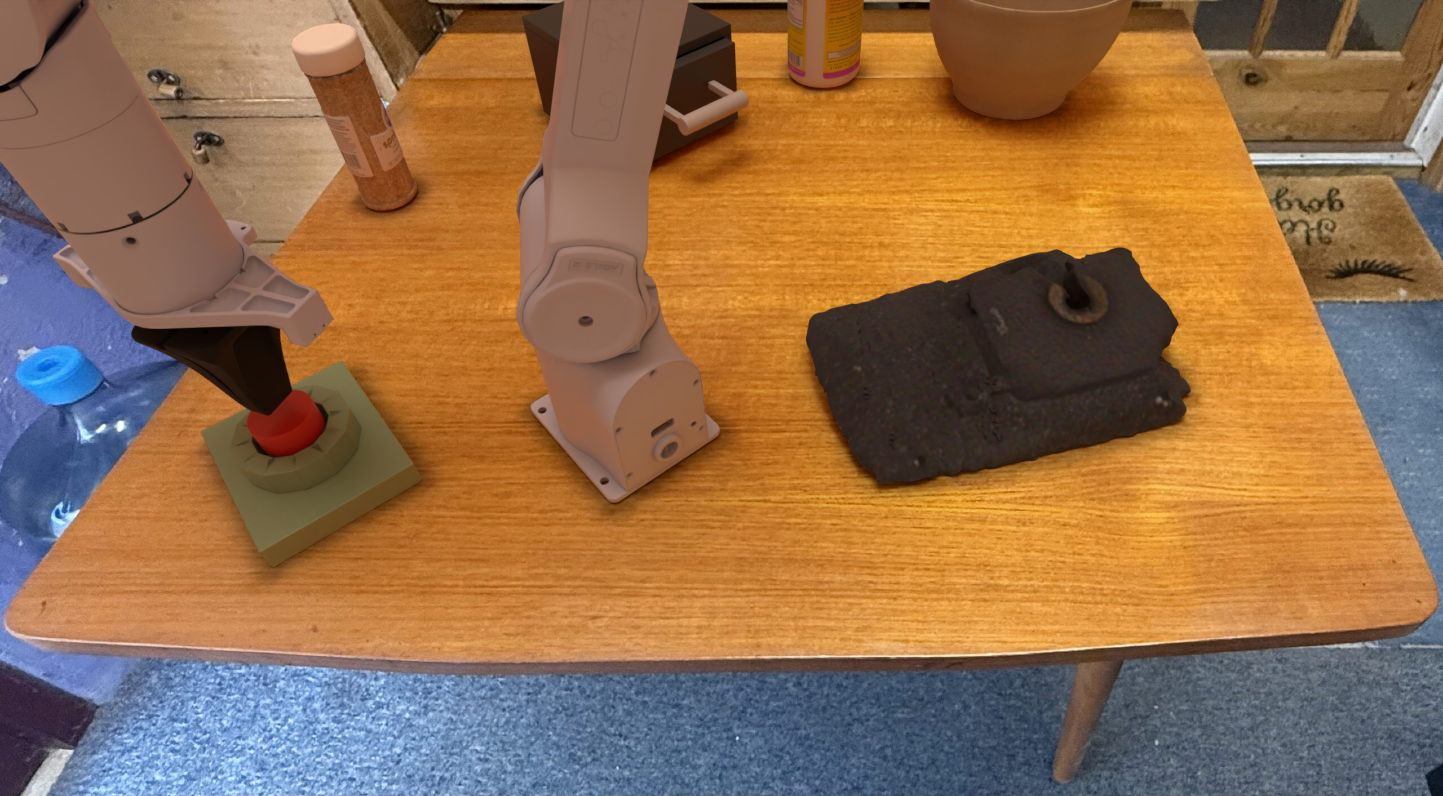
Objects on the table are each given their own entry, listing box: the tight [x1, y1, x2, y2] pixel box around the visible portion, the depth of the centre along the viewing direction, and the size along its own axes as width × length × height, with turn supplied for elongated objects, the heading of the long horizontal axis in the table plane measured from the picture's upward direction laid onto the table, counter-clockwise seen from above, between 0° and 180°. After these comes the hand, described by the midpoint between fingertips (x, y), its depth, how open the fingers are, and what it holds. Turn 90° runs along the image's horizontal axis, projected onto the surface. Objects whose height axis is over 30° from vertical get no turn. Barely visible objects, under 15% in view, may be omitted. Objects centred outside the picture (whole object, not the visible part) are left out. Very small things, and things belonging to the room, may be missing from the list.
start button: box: [247, 389, 325, 457], centre depth 47 cm, size 4×4×2 cm
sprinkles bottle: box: [290, 22, 418, 212], centre depth 63 cm, size 5×5×14 cm
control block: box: [200, 360, 423, 568], centre depth 49 cm, size 11×9×4 cm
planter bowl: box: [929, 0, 1135, 121], centre depth 69 cm, size 16×16×11 cm
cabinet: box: [521, 0, 733, 159], centre depth 71 cm, size 14×12×9 cm
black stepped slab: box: [805, 246, 1192, 484], centre depth 51 cm, size 15×22×5 cm
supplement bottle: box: [786, 0, 865, 89], centre depth 73 cm, size 7×7×13 cm
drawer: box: [653, 38, 750, 161], centre depth 69 cm, size 17×10×7 cm, turn 39°
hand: (271, 400), depth 46 cm, fingers closed
